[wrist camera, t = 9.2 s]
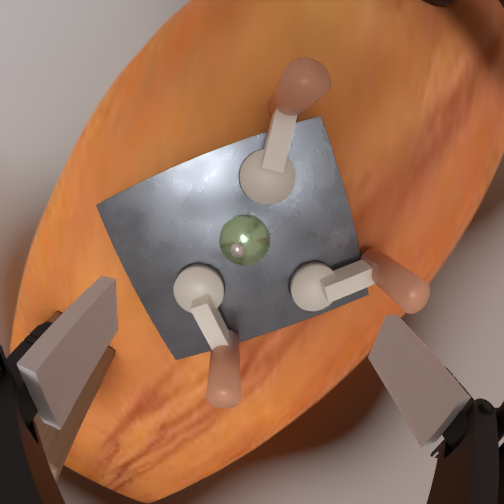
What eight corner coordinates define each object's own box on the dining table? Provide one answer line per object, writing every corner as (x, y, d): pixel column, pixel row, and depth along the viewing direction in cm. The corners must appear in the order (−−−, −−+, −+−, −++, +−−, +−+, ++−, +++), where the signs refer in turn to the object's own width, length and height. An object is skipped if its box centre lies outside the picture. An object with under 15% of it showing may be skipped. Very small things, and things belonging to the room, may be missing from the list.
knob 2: (285, 208, 26) (310, 229, 17) (233, 196, 25) (232, 211, 17) (313, 100, 23) (348, 72, 14) (261, 85, 22) (274, 48, 14)
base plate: (317, 118, 25) (323, 114, 23) (364, 290, 31) (372, 298, 29) (101, 203, 26) (91, 206, 24) (177, 353, 32) (174, 365, 30)
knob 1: (167, 273, 27) (141, 319, 19) (212, 257, 27) (202, 299, 18) (210, 355, 31) (205, 413, 22) (251, 343, 30) (256, 401, 22)
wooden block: (47, 352, 32) (-15, 439, 13) (57, 308, 30) (-29, 404, 11) (99, 387, 34) (53, 489, 15) (116, 349, 32) (57, 472, 13)
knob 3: (297, 312, 29) (318, 365, 21) (283, 272, 28) (303, 318, 19) (386, 276, 29) (430, 313, 20) (379, 235, 27) (428, 264, 19)
